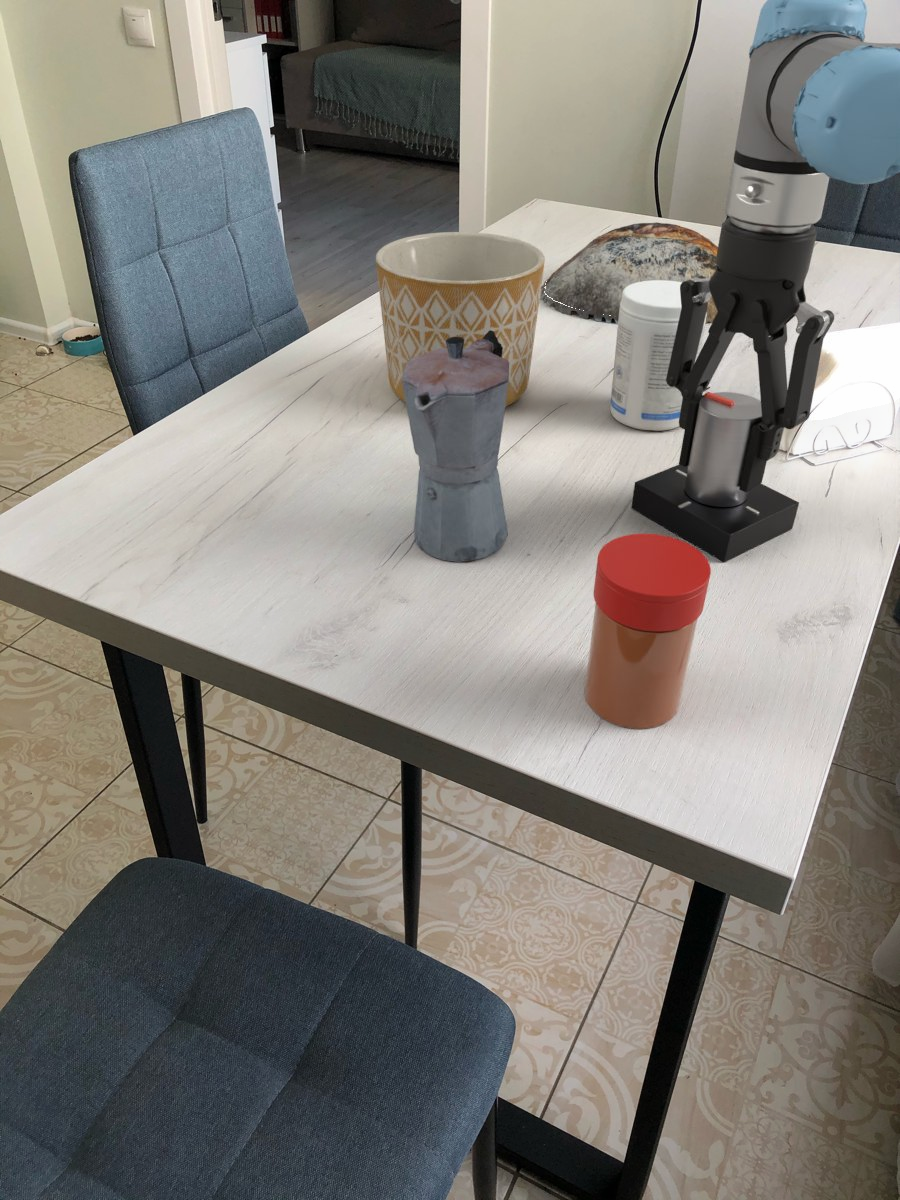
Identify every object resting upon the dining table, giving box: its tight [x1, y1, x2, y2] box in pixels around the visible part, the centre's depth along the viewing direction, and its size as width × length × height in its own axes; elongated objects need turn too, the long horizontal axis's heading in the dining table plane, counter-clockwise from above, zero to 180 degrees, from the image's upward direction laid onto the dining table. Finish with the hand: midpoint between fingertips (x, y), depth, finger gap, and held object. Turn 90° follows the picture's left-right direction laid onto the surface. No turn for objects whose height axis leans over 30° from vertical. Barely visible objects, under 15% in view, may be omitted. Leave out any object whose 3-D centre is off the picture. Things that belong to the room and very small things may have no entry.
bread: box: [539, 221, 718, 325], centre depth 143 cm, size 27×32×10 cm
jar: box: [584, 602, 698, 730], centre depth 68 cm, size 7×7×12 cm
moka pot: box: [402, 330, 509, 563], centre depth 84 cm, size 10×15×20 cm, turn 157°
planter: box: [375, 231, 546, 408], centre depth 112 cm, size 19×19×16 cm
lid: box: [593, 533, 712, 632], centre depth 65 cm, size 8×8×3 cm
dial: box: [685, 391, 762, 507], centre depth 88 cm, size 6×6×9 cm
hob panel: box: [630, 464, 800, 563], centre depth 92 cm, size 12×10×3 cm
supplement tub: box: [609, 280, 707, 432], centre depth 107 cm, size 10×10×15 cm
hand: (719, 472), depth 90 cm, fingers closed on dial, 6 cm apart
